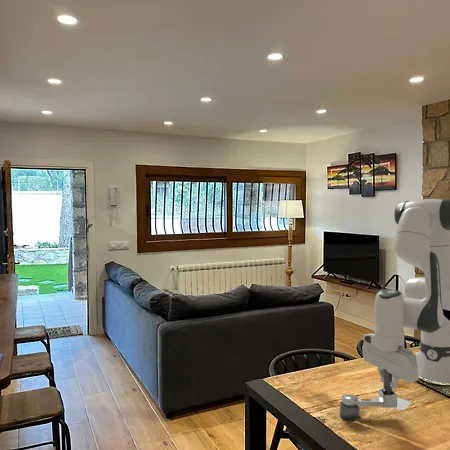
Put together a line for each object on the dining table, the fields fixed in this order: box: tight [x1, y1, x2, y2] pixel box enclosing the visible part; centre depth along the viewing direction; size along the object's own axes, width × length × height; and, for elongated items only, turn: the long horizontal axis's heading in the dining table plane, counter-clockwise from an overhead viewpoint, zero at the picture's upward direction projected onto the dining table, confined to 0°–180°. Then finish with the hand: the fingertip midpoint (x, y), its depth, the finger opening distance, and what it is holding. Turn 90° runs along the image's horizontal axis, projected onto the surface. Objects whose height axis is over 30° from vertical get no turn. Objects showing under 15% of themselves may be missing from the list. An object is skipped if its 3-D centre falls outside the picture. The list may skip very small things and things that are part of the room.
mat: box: [395, 397, 413, 412], centre depth 140 cm, size 8×8×1 cm
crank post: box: [339, 400, 361, 422], centre depth 132 cm, size 6×6×4 cm
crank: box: [341, 388, 398, 409], centre depth 132 cm, size 17×5×4 cm, turn 86°
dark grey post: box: [382, 369, 393, 395], centre depth 130 cm, size 3×3×10 cm
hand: (389, 384), depth 131 cm, fingers closed on dark grey post, 3 cm apart
